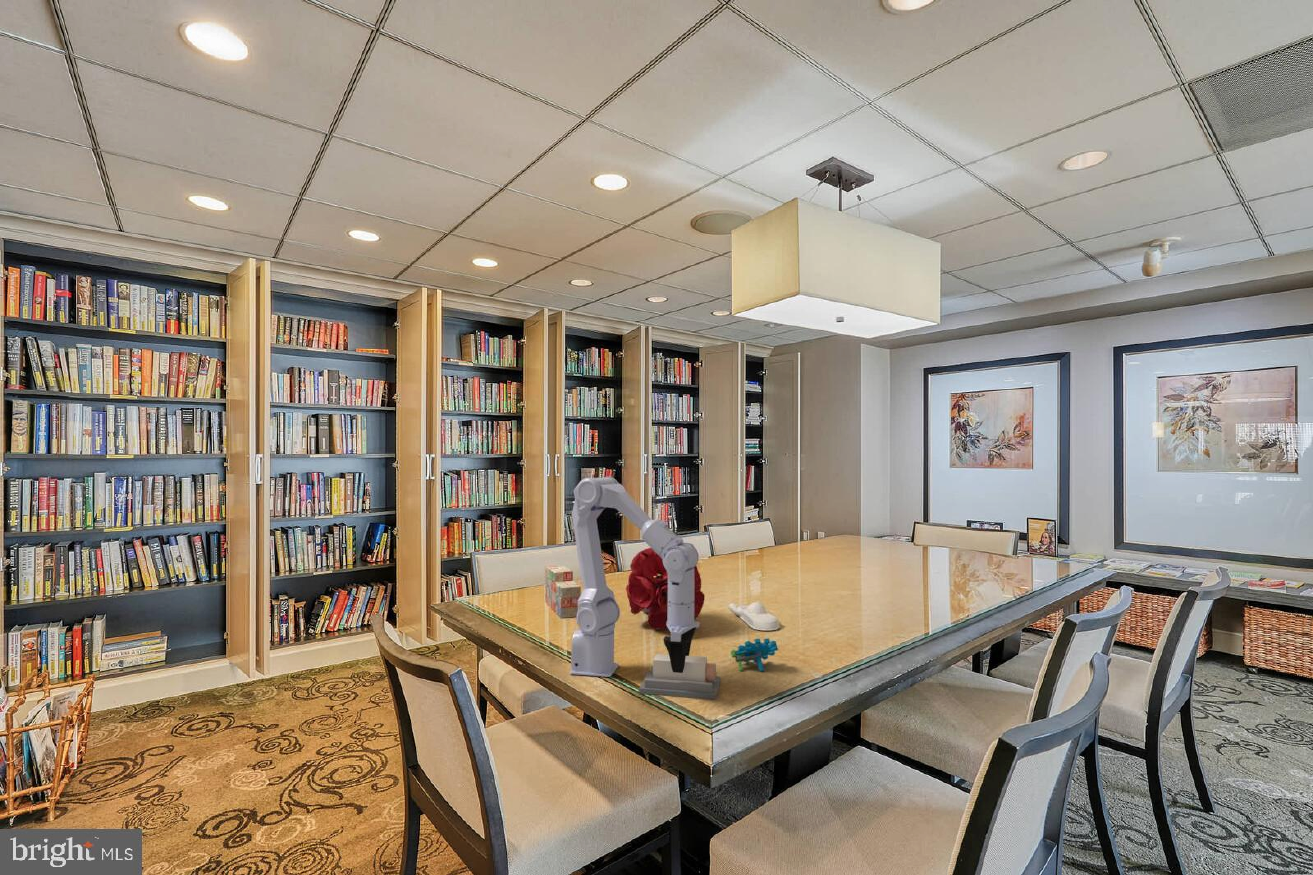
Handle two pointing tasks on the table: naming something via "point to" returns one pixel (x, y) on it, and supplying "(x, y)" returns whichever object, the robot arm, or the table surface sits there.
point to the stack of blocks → (561, 591)
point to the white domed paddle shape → (756, 616)
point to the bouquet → (655, 588)
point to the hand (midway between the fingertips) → (680, 665)
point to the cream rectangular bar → (693, 669)
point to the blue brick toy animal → (754, 652)
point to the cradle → (679, 687)
